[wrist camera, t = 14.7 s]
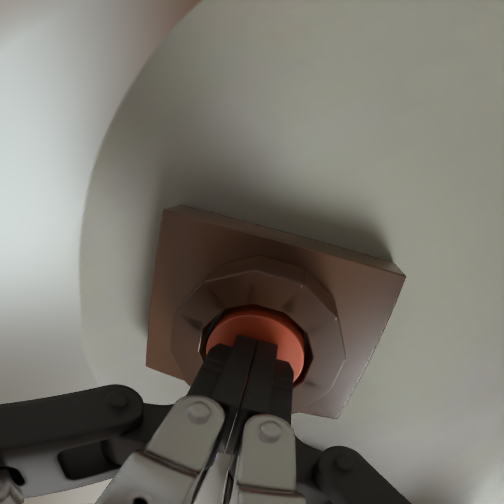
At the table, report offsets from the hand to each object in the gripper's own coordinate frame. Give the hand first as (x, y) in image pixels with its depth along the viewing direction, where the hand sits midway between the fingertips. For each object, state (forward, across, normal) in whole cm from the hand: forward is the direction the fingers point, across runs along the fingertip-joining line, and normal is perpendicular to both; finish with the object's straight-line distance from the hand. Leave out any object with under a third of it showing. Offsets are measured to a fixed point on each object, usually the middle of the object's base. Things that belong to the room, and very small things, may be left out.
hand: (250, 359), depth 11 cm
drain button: (+2, 0, 0) cm, 2 cm away
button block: (+4, 0, 0) cm, 4 cm away
